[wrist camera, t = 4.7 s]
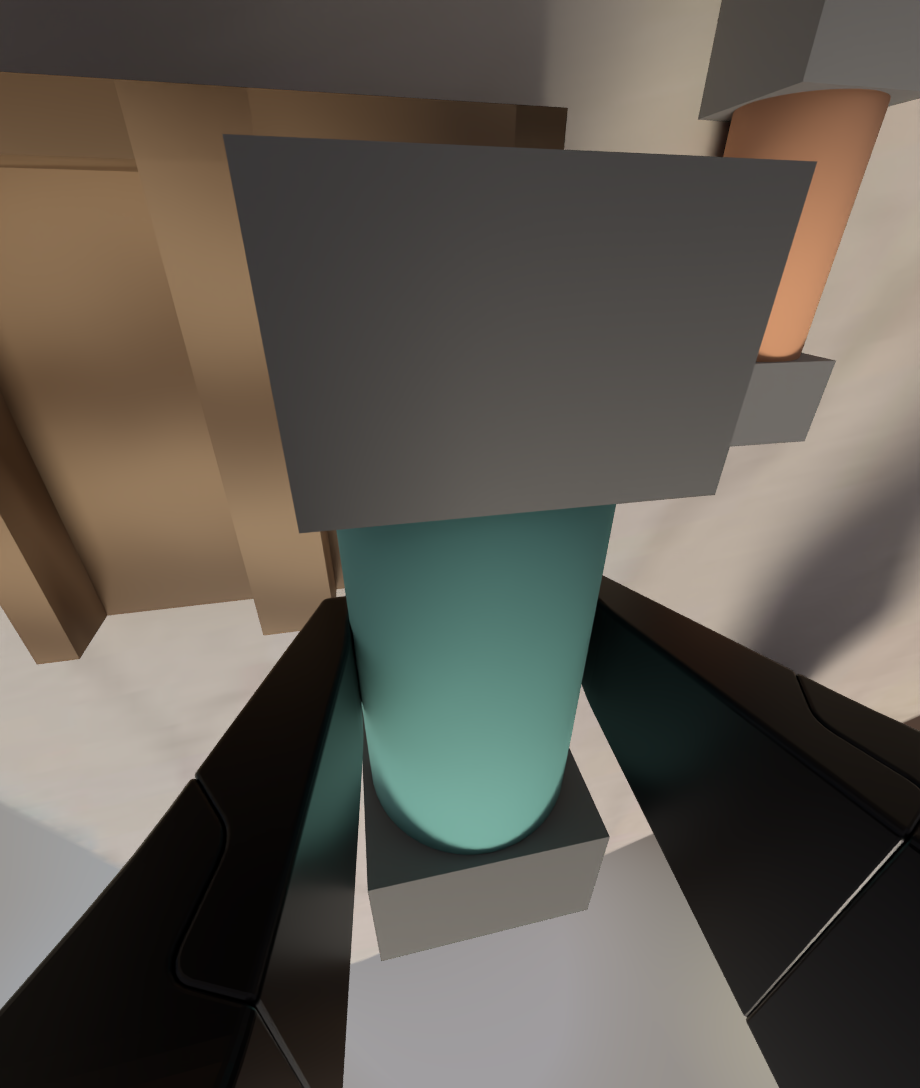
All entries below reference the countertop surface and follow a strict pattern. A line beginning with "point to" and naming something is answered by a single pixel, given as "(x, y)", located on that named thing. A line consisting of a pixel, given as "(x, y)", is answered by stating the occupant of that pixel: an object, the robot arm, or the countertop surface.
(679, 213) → the teal capped cylinder
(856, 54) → the orange capped cylinder
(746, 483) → the countertop surface
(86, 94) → the wooden tray
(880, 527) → the countertop surface
